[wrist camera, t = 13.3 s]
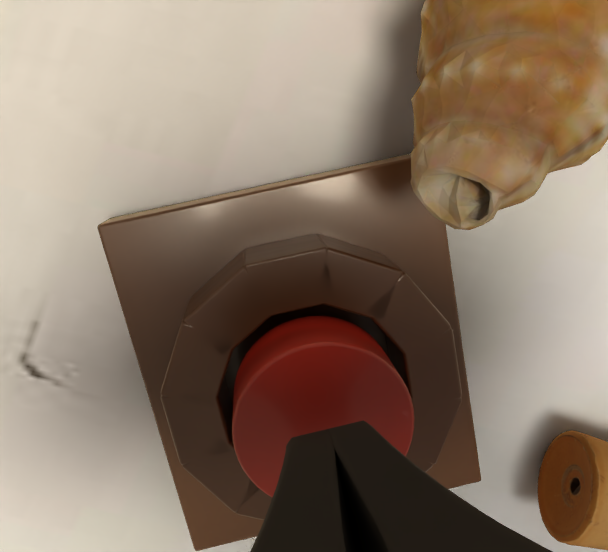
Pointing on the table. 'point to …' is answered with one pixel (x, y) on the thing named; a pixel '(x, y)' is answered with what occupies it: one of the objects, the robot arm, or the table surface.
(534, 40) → the seashell
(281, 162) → the table surface
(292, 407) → the power button
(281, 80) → the table surface
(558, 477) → the kendama
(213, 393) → the control block
